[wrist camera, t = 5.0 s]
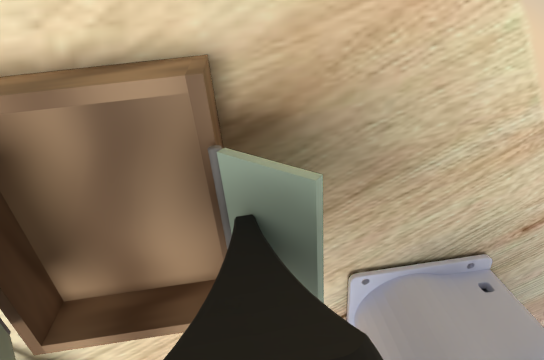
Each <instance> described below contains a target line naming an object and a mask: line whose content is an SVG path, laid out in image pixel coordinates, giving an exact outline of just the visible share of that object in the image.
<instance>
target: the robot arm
mask: <svg viewBox="0 0 544 360" xmlns="http://www.w3.org/2000/svg"><path fill="white" fill-rule="evenodd" d="M491 264H492V259H491V258H490V256H489V255H487V254H483V255H476V256H469V257H462V258H456V259H449V260H442V261H435V262H429V263H422V264H415V265H408V266H402V267H395V268H388V269H381V270H375V271H368V272H361V273H355V274H353V275H351V276H350V277H349V280H348V301H347V321H346V320H344V319H343V318H341V317H340V316H339V315H338V314H336V313H335V312H334V311H332V310H331V309H330V308H328V307H327V306H326V305H325V304H324V303H323V302H321V301H320V300H319V299H318V298H317V297H316V296H314V295H313V294H312V293H311V292H310V291H309V290H308V289H307V288H306V287H305V286H304V285H303V284H302V283H301V282H300V281H299V280H298V279H297V278H296V277H295V276H294V275H293V274H292V273H291V272H290V270H289V269H288V268H287V267H286V266H285V265H284V263H283V262H282V261H281V260H280V258H279V257H278V256H277V254H276V253H275V252H274V250H273V249H272V247H271V246H270V244H269V243H268V241H267V240H266V238H265V236H264V235H263V233H262V231H261V229H260V227H259V225H258V223H257V221H256V218H255V217H254V216H253V214H250V215H244V216H237V217H236V218H235V219H234V228H233V232H232V237H231V240H230V244H229V247H228V250H227V253H226V256H225V259H224V261H223V264H222V266H221V268H220V271H219V273H218V276H217V278H216V280H215V282H214V284H213V286H212V288H211V290H210V292H209V294H208V296H207V298H206V299H205V301H204V303H203V304H202V306H201V308H200V310H199V311H198V313H197V315H196V316H195V318H194V319H193V321H192V322H191V324H190V325H189V327H188V328H187V329H186V331H185V332H184V334H183V335H182V336H181V338H180V339H179V341H178V342H177V343H176V345H175V346H174V347H173V349H172V350H171V351H170V352H169V353H168V355H167V356H166V357H165V358H164V359H163V360H544V327H543V326H542V325H541V324H540V323H539V322H538V321H537V320H536V319H535V318H534V317H533V315H532V314H531V313H530V312H529V311H528V310H527V309H526V308H525V307H524V306H523V305H522V303H521V302H520V301H519V300H518V299H517V298H516V297H515V296H514V295H513V294H512V293H511V292H510V290H509V289H508V288H507V287H506V286H505V285H504V284H503V283H502V282H501V281H500V280H499V278H498V277H497V276H496V275H495V274H494V273H493V272H492V271H491V270H490V267H491ZM364 279H365V280H364Z"/></svg>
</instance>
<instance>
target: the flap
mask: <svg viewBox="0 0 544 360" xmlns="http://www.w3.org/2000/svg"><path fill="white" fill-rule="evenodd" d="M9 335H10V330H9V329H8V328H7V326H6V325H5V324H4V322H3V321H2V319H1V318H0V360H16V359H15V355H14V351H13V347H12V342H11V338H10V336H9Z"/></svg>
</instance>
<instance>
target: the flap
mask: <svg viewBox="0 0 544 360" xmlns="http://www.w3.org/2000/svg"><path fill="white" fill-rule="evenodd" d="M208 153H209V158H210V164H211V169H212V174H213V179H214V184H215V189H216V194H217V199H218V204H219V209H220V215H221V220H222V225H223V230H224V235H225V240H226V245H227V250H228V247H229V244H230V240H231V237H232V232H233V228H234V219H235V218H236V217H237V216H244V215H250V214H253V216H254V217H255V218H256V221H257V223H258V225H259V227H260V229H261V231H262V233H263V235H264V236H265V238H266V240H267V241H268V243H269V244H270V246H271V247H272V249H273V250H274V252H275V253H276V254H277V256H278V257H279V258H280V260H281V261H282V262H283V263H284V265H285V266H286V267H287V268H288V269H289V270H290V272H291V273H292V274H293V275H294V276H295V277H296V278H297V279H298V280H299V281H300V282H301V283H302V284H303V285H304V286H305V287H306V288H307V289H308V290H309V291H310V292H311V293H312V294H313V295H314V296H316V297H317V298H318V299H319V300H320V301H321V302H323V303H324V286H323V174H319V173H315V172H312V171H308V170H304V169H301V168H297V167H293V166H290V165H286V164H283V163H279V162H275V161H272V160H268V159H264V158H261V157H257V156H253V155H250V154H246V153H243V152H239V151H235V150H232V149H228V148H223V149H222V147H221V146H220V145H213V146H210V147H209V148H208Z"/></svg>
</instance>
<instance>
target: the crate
mask: <svg viewBox="0 0 544 360" xmlns="http://www.w3.org/2000/svg"><path fill="white" fill-rule="evenodd" d="M213 145H220V146H221V147H222V149H223V143H222V137H221V131H220V126H219V120H218V114H217V108H216V102H215V96H214V90H213V84H212V78H211V73H210V67H209V61H208V55H201V56H192V57H182V58H173V59H164V60H154V61H145V62H136V63H126V64H117V65H107V66H98V67H89V68H79V69H70V70H61V71H51V72H42V73H33V74H23V75H14V76H5V77H0V309H1V311H2V312H3V313H4V315H5V316H6V317H7V319H8V320H9V322H10V323H11V324H12V326H13V327H14V328H15V330H16V331H17V333H18V334H19V335H20V337H21V338H22V339H23V341H24V342H25V343H26V345H27V346H28V348H29V349H30V350H31V352H32V353H33V354H34V355H39V354H46V353H52V352H59V351H65V350H72V349H78V348H85V347H91V346H98V345H104V344H111V343H117V342H124V341H130V340H137V339H143V338H150V337H156V336H163V335H169V334H176V333H182V332H185V331H186V329H187V328H188V327H189V325H190V324H191V322H192V321H193V319H194V318H195V316H196V315H197V313H198V311H199V310H200V308H201V306H202V304H203V303H204V301H205V299H206V298H207V296H208V294H209V292H210V290H211V288H212V286H213V284H214V282H215V280H216V278H217V276H218V273H219V271H220V268H221V266H222V264H223V261H224V259H225V256H226V253H227V245H226V240H225V235H224V230H223V225H222V220H221V215H220V209H219V204H218V199H217V194H216V189H215V184H214V179H213V174H212V169H211V164H210V158H209V153H208V148H209V147H210V146H213Z"/></svg>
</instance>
